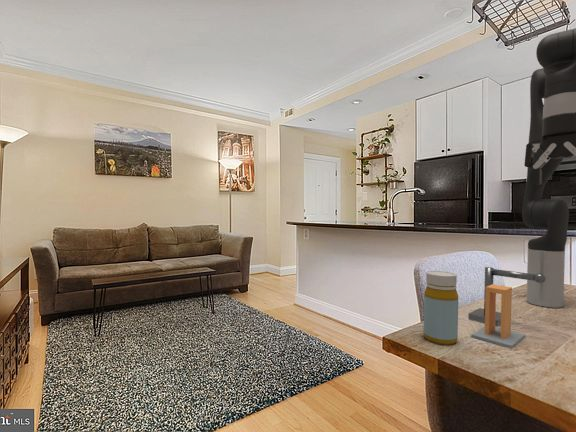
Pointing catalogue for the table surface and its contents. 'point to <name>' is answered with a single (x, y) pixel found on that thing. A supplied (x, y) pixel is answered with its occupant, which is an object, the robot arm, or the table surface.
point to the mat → (496, 335)
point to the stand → (489, 274)
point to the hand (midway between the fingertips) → (560, 183)
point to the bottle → (441, 308)
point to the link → (491, 309)
